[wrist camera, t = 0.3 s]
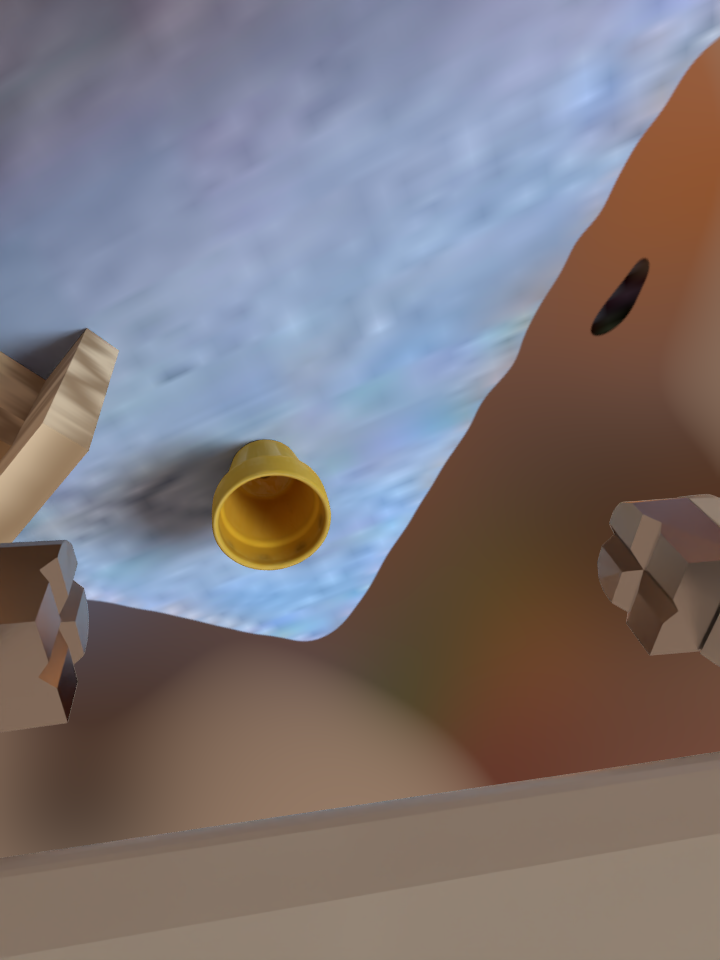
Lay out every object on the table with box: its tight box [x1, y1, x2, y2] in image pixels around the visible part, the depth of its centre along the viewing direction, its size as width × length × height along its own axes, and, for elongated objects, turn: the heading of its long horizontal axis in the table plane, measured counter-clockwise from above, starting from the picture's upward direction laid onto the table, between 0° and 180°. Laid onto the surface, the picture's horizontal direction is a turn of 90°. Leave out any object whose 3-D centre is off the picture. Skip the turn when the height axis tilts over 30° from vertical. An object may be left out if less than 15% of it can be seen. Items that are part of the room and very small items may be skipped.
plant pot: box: [212, 440, 331, 570], centre depth 59 cm, size 10×10×10 cm
